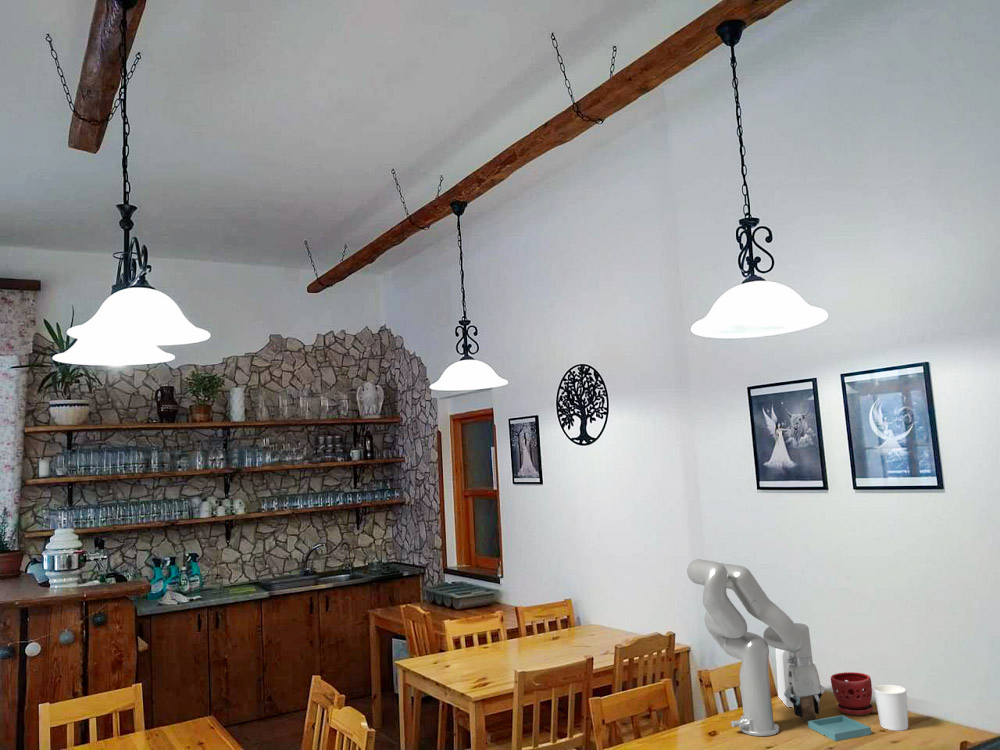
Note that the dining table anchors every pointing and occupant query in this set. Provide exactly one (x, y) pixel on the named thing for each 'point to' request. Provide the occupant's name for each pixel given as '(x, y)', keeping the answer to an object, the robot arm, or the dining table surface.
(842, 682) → the plant pot
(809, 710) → the pepper mill
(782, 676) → the milk
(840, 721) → the tray
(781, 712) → the dining table surface
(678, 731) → the dining table surface
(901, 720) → the candle holder
